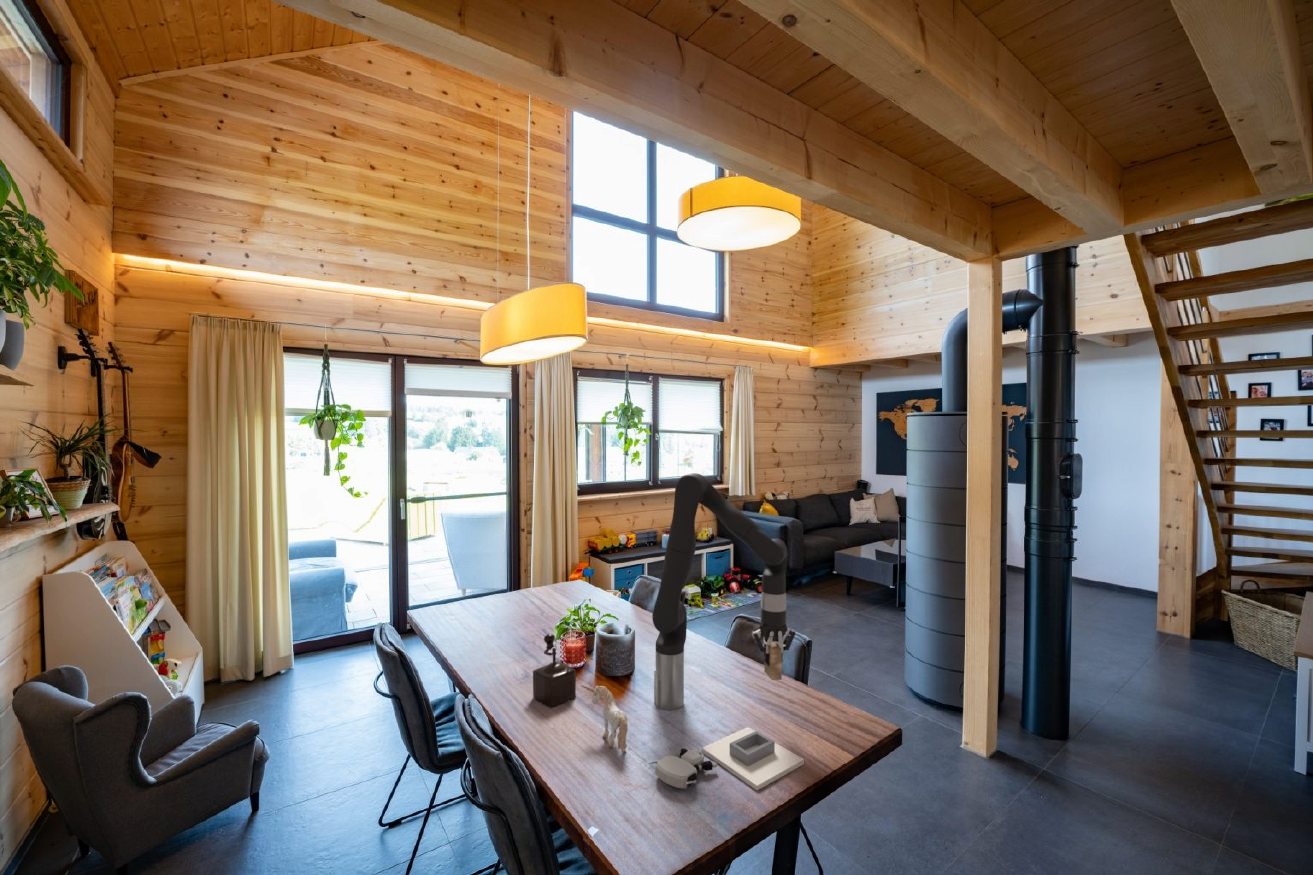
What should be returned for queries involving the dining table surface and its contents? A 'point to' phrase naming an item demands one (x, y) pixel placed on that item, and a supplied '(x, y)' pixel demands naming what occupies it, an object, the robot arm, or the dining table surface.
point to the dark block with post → (554, 680)
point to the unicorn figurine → (611, 716)
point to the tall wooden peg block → (774, 663)
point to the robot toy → (682, 768)
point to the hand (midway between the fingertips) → (773, 663)
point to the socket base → (753, 757)
